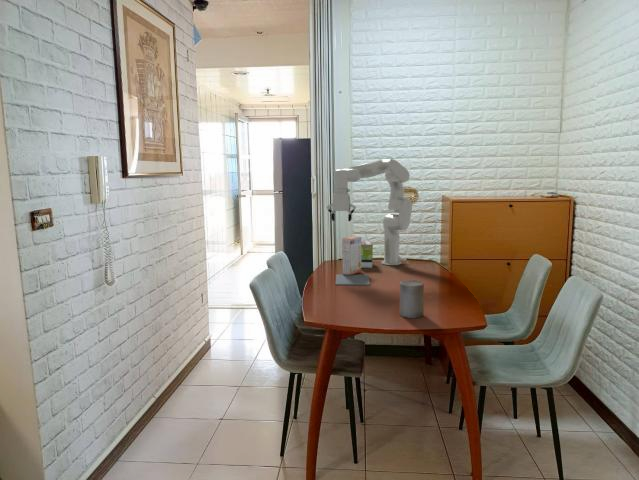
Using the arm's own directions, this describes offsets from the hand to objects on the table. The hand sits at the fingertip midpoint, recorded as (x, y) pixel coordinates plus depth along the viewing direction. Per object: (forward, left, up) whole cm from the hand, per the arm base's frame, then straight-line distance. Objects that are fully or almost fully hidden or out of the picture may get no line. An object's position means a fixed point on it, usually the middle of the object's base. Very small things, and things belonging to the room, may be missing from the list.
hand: (341, 220), depth 272 cm
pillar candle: (-29, +82, -31) cm, 92 cm away
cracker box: (-6, +5, -30) cm, 31 cm away
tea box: (-14, -20, -31) cm, 39 cm away
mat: (-6, +20, -30) cm, 37 cm away
